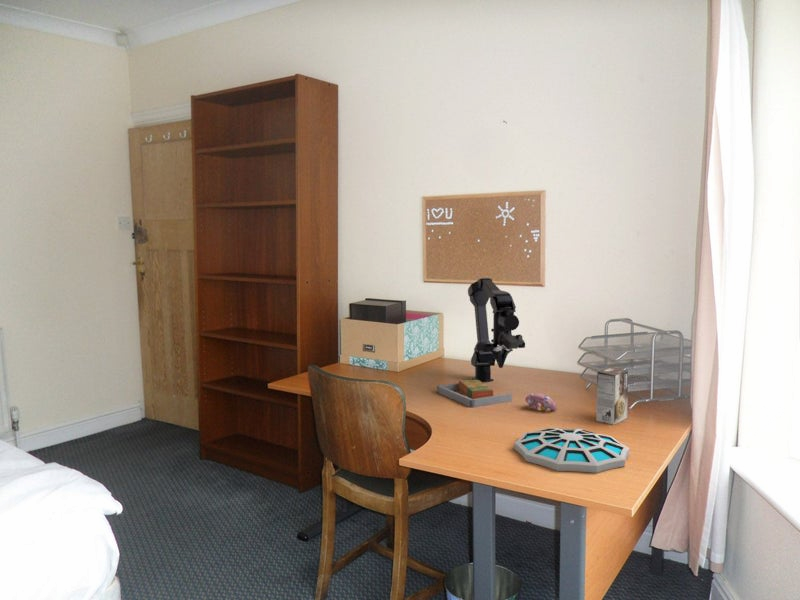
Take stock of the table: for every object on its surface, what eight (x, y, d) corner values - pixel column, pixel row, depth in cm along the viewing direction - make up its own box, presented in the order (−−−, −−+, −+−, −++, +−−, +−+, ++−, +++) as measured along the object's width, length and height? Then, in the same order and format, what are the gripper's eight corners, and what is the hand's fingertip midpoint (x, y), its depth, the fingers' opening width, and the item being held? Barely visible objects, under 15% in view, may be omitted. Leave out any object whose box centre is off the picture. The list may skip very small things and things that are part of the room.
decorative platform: (493, 453, 169) (493, 435, 169) (550, 428, 190) (550, 413, 189) (596, 484, 148) (597, 464, 147) (649, 453, 168) (649, 435, 167)
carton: (478, 389, 238) (478, 378, 237) (493, 400, 222) (494, 389, 221) (457, 391, 236) (458, 380, 235) (472, 402, 220) (472, 390, 220)
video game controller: (526, 411, 212) (522, 396, 209) (532, 403, 215) (528, 387, 212) (552, 417, 205) (548, 401, 202) (558, 408, 208) (554, 392, 205)
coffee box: (608, 414, 202) (610, 366, 201) (627, 418, 198) (629, 369, 196) (595, 420, 196) (596, 371, 194) (614, 425, 191) (615, 374, 190)
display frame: (436, 392, 233) (436, 385, 232) (474, 386, 241) (474, 380, 240) (471, 407, 212) (471, 400, 212) (511, 400, 220) (511, 394, 220)
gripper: (493, 331, 218) (493, 374, 219) (534, 327, 226) (534, 369, 228) (475, 327, 228) (475, 368, 229) (516, 323, 236) (515, 363, 238)
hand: (500, 367), depth 231 cm, fingers closed
